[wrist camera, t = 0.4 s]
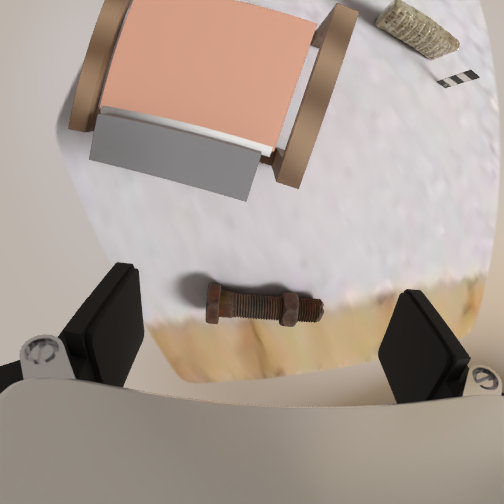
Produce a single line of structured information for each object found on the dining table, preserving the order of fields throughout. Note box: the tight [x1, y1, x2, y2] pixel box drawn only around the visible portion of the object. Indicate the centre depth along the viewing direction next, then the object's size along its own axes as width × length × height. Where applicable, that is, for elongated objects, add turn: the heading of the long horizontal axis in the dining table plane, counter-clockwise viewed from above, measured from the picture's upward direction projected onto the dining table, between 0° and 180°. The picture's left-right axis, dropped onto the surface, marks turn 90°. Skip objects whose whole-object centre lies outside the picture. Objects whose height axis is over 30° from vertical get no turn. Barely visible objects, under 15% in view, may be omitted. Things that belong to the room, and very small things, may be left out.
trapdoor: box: [89, 0, 317, 202], centre depth 24 cm, size 16×16×5 cm
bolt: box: [206, 283, 324, 327], centre depth 42 cm, size 6×5×15 cm
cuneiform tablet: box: [375, 0, 479, 88], centre depth 27 cm, size 7×4×12 cm
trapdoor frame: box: [68, 0, 359, 189], centre depth 27 cm, size 17×22×10 cm
